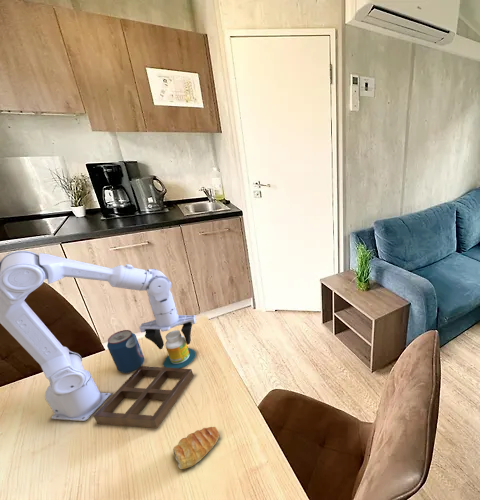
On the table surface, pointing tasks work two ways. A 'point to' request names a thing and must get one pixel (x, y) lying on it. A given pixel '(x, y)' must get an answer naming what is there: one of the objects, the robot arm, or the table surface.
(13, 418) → the table surface
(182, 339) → the supplement bottle
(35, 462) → the table surface
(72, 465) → the table surface
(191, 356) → the coaster
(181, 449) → the pastry
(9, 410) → the table surface
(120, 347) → the soda can
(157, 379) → the rack
